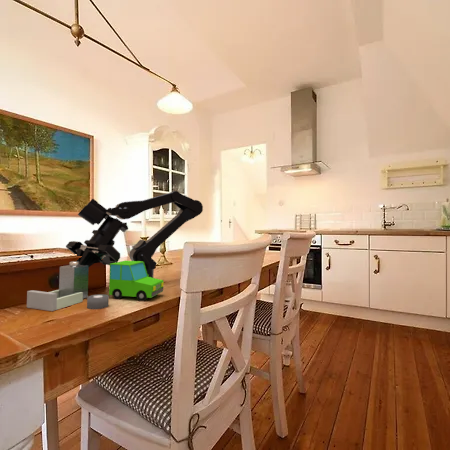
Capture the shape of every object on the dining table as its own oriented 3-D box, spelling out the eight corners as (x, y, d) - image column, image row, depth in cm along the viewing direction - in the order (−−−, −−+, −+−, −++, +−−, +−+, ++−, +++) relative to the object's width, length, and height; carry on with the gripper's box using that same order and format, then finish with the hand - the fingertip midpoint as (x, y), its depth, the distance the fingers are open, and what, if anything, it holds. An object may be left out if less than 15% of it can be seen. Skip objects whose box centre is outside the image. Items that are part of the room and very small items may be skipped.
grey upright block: (73, 295, 80) (74, 260, 80) (87, 297, 78) (88, 261, 78) (58, 299, 75) (59, 262, 75) (73, 301, 73) (74, 263, 74)
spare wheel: (97, 302, 74) (97, 293, 74) (112, 304, 72) (112, 295, 72) (82, 308, 69) (82, 297, 69) (98, 310, 67) (98, 299, 67)
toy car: (150, 303, 75) (151, 266, 75) (106, 299, 77) (107, 264, 77) (165, 294, 85) (166, 262, 85) (126, 291, 87) (127, 260, 87)
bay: (59, 298, 77) (59, 284, 77) (82, 301, 74) (82, 286, 74) (26, 307, 68) (27, 291, 68) (52, 311, 66) (52, 294, 66)
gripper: (140, 250, 90) (114, 292, 81) (102, 246, 99) (74, 284, 90) (121, 228, 83) (89, 272, 74) (81, 226, 91) (48, 265, 82)
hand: (75, 274), depth 80 cm, fingers closed
